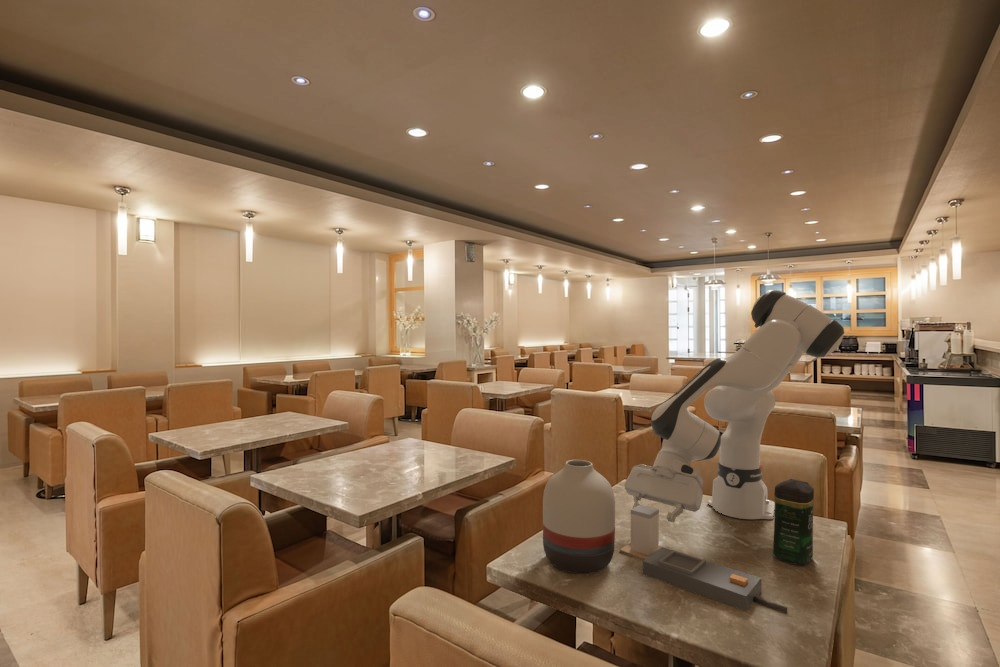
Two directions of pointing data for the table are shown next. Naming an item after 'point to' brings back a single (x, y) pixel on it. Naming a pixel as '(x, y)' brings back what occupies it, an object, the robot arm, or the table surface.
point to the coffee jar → (793, 522)
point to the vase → (579, 519)
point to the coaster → (634, 552)
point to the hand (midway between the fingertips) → (652, 515)
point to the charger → (644, 529)
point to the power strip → (706, 579)
